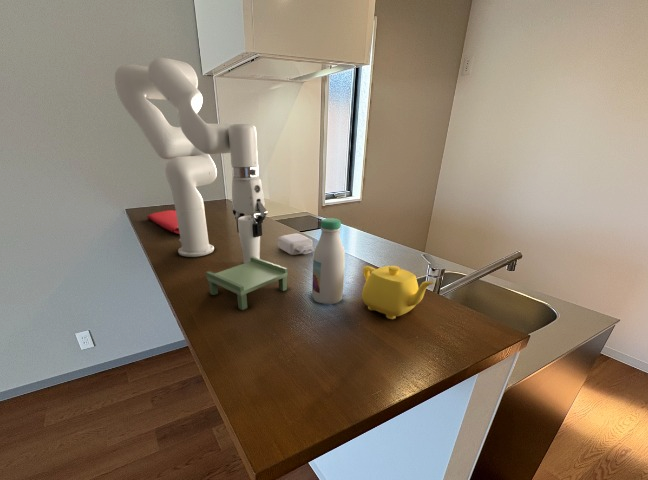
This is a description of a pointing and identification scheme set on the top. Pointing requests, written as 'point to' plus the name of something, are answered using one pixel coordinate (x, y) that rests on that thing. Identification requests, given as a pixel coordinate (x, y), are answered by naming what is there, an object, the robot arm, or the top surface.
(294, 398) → the top surface
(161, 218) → the red flat wedge
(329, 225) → the milk bottle
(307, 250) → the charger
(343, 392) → the top surface
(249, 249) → the drinking glass
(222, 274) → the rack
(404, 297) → the teapot
